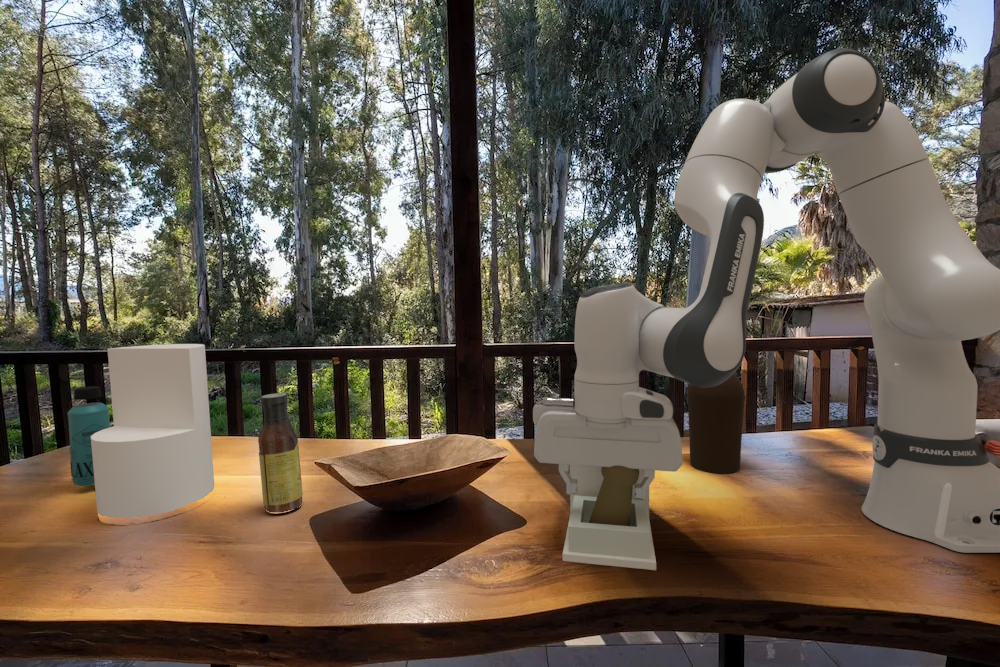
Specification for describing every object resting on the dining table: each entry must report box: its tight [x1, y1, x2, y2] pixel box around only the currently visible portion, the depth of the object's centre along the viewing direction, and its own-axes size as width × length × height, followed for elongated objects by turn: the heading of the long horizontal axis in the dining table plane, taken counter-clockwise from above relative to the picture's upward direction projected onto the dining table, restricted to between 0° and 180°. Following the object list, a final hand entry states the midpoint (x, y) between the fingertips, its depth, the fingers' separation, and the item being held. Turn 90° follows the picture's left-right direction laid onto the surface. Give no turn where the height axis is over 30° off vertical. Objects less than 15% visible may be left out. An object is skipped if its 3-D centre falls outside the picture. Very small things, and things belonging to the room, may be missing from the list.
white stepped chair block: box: [91, 343, 215, 518], centre depth 87 cm, size 17×17×28 cm
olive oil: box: [686, 373, 746, 474], centre depth 99 cm, size 11×11×25 cm
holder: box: [562, 465, 657, 571], centre depth 70 cm, size 12×14×13 cm
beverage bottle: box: [67, 385, 111, 487], centre depth 95 cm, size 6×7×20 cm
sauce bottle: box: [257, 392, 304, 512], centre depth 84 cm, size 7×6×20 cm
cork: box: [589, 465, 639, 526], centre depth 69 cm, size 6×6×11 cm
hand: (605, 495), depth 69 cm, fingers open, 8 cm apart
